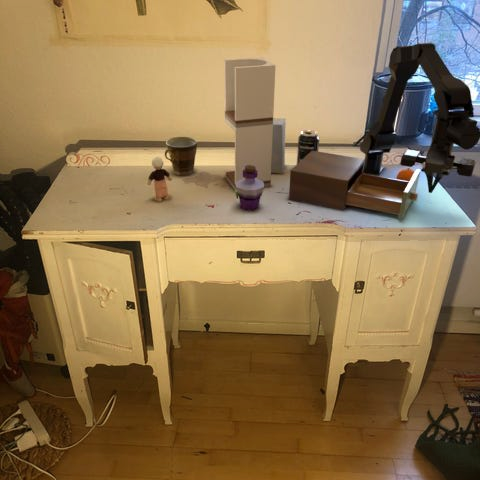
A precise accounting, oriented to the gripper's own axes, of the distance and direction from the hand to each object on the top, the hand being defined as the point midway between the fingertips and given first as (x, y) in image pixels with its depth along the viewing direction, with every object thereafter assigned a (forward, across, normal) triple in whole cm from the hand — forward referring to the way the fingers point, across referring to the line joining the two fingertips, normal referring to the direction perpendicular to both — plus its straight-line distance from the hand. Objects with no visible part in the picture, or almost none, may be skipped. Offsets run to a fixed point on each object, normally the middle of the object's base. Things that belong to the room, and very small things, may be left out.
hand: (430, 192), depth 148 cm
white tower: (+6, -55, -3) cm, 55 cm away
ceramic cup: (+6, -78, -6) cm, 79 cm away
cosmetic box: (+6, -52, +11) cm, 54 cm away
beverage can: (+6, -42, +16) cm, 45 cm away
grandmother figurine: (+6, -73, -26) cm, 78 cm away
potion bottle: (+6, -47, -19) cm, 51 cm away
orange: (+6, -9, +15) cm, 18 cm away
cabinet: (+6, -30, 0) cm, 31 cm away
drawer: (+5, -12, 0) cm, 13 cm away
